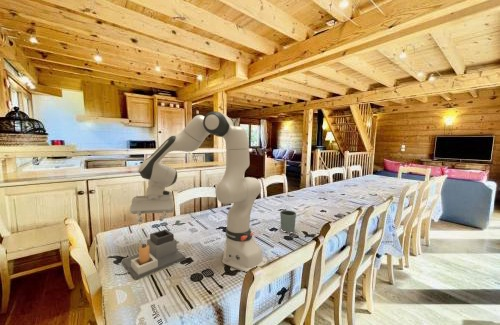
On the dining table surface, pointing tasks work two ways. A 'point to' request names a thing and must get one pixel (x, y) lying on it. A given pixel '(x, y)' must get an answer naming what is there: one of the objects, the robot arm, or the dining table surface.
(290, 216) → the grey cup
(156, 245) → the grey socket base
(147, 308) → the dining table surface
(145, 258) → the plug
